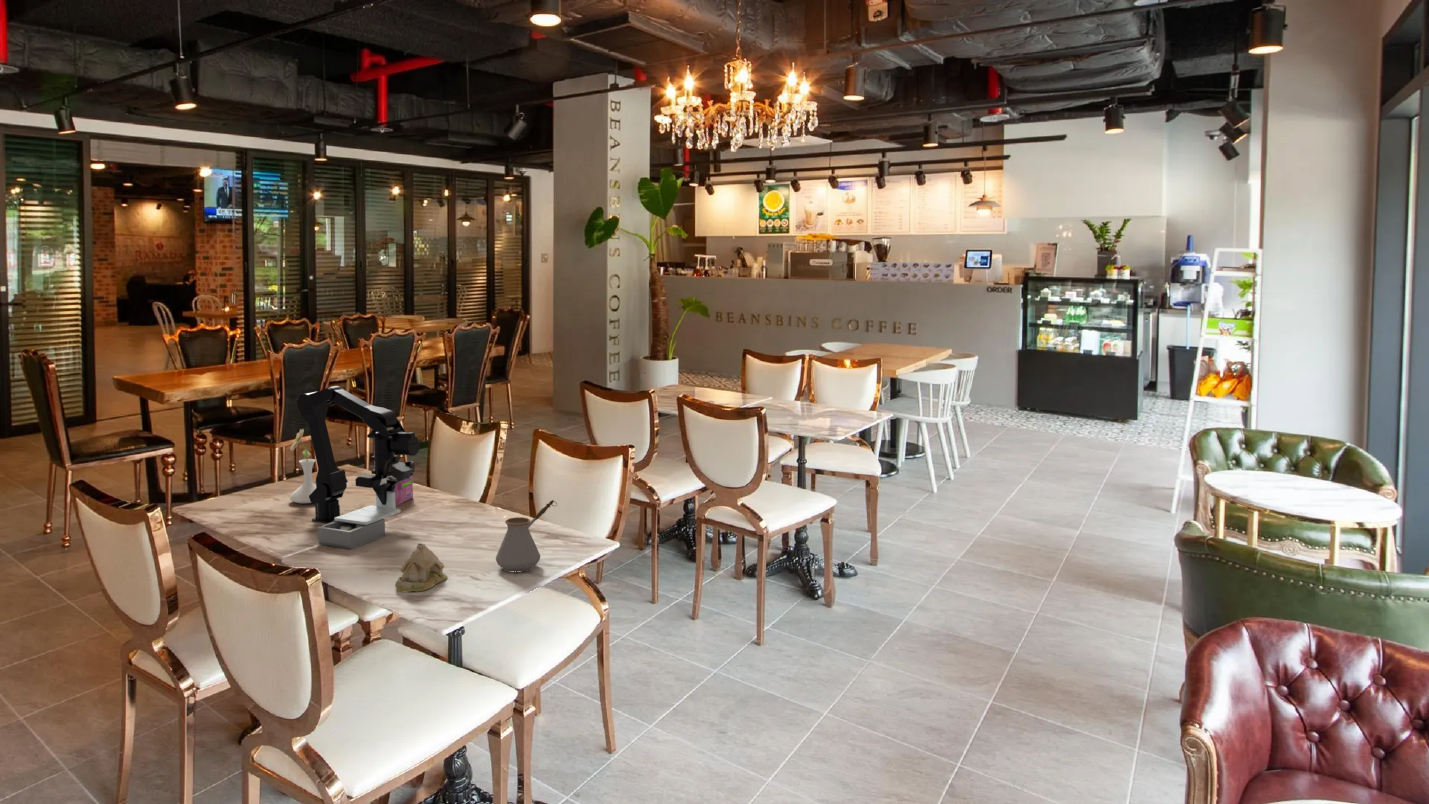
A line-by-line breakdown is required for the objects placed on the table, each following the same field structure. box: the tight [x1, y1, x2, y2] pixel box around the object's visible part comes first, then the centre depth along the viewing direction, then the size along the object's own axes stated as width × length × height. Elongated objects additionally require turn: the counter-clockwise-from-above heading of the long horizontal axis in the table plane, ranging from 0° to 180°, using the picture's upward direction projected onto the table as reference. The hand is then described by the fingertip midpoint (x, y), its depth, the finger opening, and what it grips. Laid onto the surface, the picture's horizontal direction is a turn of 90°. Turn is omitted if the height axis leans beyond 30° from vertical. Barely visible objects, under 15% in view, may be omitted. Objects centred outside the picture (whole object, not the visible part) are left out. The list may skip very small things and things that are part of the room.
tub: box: [317, 518, 386, 550], centre depth 250 cm, size 11×14×5 cm
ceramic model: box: [394, 543, 448, 592], centre depth 218 cm, size 14×11×10 cm
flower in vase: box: [289, 428, 317, 504], centre depth 286 cm, size 13×11×25 cm
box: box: [382, 462, 414, 506], centre depth 291 cm, size 10×6×12 cm, turn 168°
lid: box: [334, 491, 401, 525], centre depth 256 cm, size 11×16×6 cm
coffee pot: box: [495, 499, 558, 573], centre depth 234 cm, size 21×12×15 cm, turn 153°
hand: (385, 504), depth 263 cm, fingers closed on lid
